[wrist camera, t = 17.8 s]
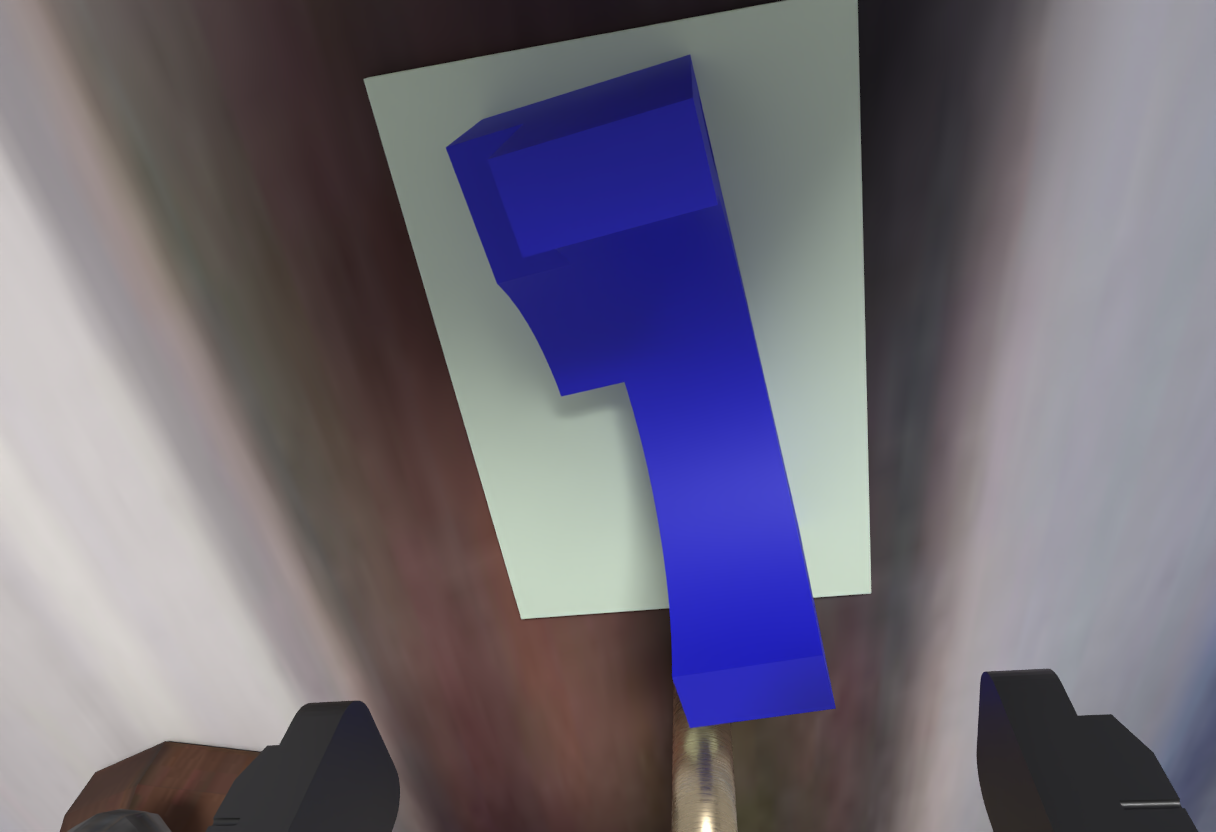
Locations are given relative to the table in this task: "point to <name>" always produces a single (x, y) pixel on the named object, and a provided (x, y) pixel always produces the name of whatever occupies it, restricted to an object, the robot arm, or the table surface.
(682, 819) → the wire track
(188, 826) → the mug
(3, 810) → the table surface
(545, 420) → the pad
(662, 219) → the cable clip
